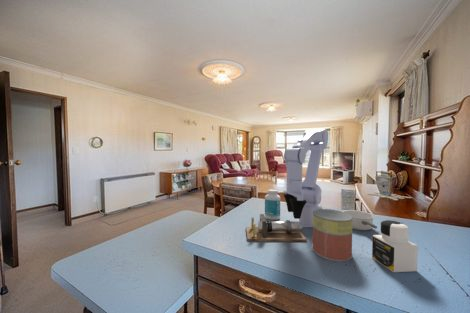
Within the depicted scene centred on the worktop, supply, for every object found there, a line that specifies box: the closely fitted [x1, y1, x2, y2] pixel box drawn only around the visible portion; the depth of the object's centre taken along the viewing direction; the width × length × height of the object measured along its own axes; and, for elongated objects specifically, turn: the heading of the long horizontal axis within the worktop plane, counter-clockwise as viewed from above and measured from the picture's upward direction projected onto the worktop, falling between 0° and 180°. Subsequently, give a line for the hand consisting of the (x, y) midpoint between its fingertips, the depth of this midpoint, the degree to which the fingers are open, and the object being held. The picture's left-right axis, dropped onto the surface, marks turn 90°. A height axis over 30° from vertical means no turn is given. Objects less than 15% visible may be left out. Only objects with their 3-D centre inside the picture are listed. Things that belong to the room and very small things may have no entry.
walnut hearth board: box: [245, 226, 308, 243], centre depth 73 cm, size 21×11×1 cm, turn 90°
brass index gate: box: [249, 216, 257, 237], centre depth 73 cm, size 2×9×5 cm, turn 0°
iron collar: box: [259, 213, 268, 237], centre depth 73 cm, size 2×8×6 cm, turn 0°
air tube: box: [257, 219, 303, 233], centre depth 73 cm, size 16×5×5 cm, turn 90°
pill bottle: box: [264, 188, 281, 221], centre depth 92 cm, size 8×7×14 cm
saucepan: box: [342, 209, 378, 231], centre depth 78 cm, size 12×20×6 cm, turn 169°
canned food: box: [312, 208, 353, 262], centre depth 61 cm, size 11×11×12 cm
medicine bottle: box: [371, 219, 419, 273], centre depth 54 cm, size 7×7×12 cm
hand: (293, 214), depth 73 cm, fingers open, 7 cm apart
